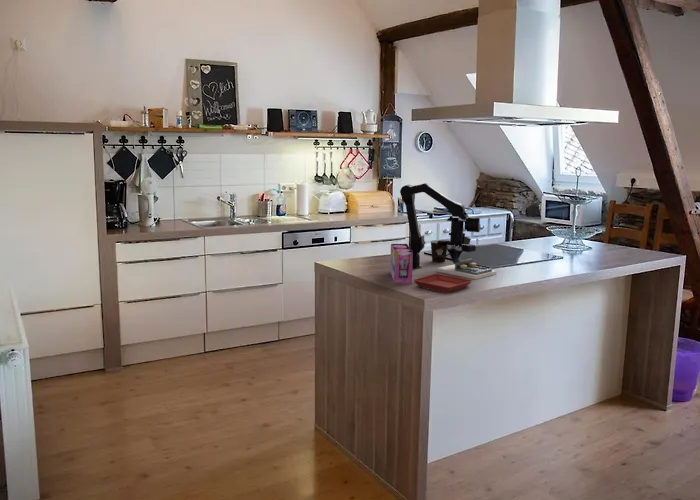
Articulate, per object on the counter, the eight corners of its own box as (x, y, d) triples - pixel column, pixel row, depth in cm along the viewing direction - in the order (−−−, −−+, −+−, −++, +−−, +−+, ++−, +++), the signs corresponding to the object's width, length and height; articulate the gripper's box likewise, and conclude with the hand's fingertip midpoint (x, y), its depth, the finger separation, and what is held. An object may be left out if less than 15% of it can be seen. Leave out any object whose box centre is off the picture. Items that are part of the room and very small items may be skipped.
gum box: (412, 284, 266) (413, 253, 263) (394, 284, 265) (395, 252, 263) (406, 272, 289) (407, 243, 287) (389, 272, 289) (390, 243, 287)
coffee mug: (427, 261, 314) (428, 242, 312) (433, 259, 321) (434, 239, 320) (449, 264, 309) (450, 244, 307) (455, 261, 316) (456, 241, 314)
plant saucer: (472, 287, 263) (472, 279, 263) (448, 295, 250) (449, 286, 249) (436, 280, 275) (436, 273, 274) (412, 287, 262) (412, 279, 261)
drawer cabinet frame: (476, 274, 278) (476, 265, 278) (454, 270, 287) (455, 261, 286) (492, 271, 286) (492, 262, 286) (470, 266, 295) (470, 258, 294)
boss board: (475, 279, 277) (475, 270, 276) (436, 271, 292) (436, 262, 292) (496, 274, 287) (496, 265, 287) (457, 266, 303) (457, 258, 302)
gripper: (483, 231, 289) (481, 265, 292) (451, 226, 303) (450, 258, 306) (469, 234, 282) (467, 268, 285) (436, 228, 295) (435, 261, 298)
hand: (455, 263), depth 294 cm, fingers closed
